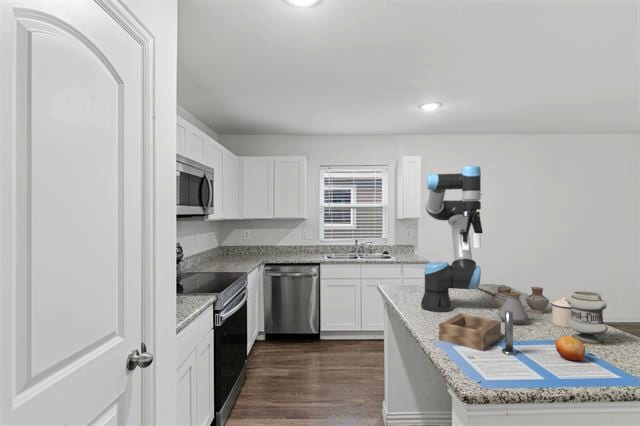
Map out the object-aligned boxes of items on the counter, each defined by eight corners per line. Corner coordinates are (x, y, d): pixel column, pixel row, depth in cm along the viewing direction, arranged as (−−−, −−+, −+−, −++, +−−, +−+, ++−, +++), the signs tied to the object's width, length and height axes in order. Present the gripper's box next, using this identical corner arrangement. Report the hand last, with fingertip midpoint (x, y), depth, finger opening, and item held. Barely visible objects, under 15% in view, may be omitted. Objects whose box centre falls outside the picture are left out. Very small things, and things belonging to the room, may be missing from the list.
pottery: (551, 316, 165) (551, 290, 165) (493, 310, 174) (492, 286, 174) (546, 310, 175) (546, 286, 175) (491, 305, 184) (490, 282, 184)
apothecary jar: (560, 334, 138) (560, 289, 138) (591, 335, 138) (591, 289, 138) (582, 346, 126) (581, 296, 126) (616, 346, 126) (616, 296, 126)
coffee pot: (521, 319, 159) (521, 286, 159) (532, 327, 148) (532, 291, 148) (472, 316, 163) (472, 284, 163) (478, 324, 152) (478, 289, 152)
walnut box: (439, 340, 132) (439, 324, 132) (459, 327, 147) (459, 313, 147) (483, 351, 121) (483, 333, 122) (500, 336, 136) (500, 321, 136)
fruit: (577, 349, 119) (582, 332, 116) (585, 369, 113) (590, 352, 109) (550, 346, 122) (553, 330, 118) (556, 365, 116) (560, 349, 112)
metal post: (500, 352, 120) (499, 312, 120) (504, 349, 123) (503, 309, 123) (514, 356, 117) (514, 314, 117) (517, 352, 120) (517, 311, 120)
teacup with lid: (580, 329, 145) (579, 301, 145) (554, 326, 148) (553, 299, 148) (572, 321, 156) (572, 295, 156) (548, 319, 159) (548, 293, 159)
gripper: (469, 199, 143) (469, 251, 143) (489, 201, 161) (489, 247, 161) (451, 200, 148) (451, 250, 148) (473, 201, 166) (473, 246, 166)
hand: (471, 248), depth 155 cm, fingers open, 13 cm apart
